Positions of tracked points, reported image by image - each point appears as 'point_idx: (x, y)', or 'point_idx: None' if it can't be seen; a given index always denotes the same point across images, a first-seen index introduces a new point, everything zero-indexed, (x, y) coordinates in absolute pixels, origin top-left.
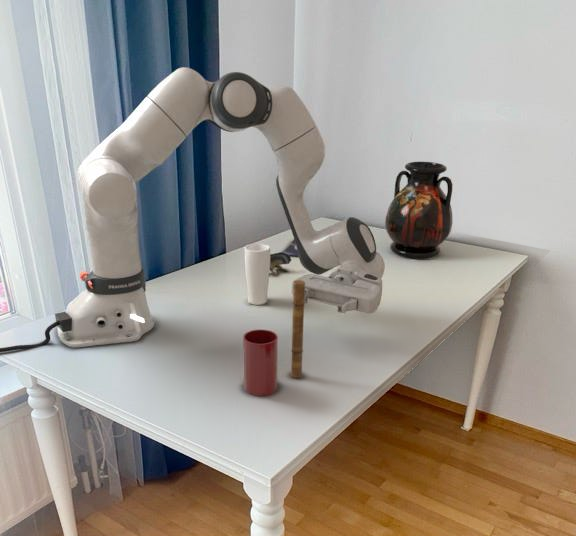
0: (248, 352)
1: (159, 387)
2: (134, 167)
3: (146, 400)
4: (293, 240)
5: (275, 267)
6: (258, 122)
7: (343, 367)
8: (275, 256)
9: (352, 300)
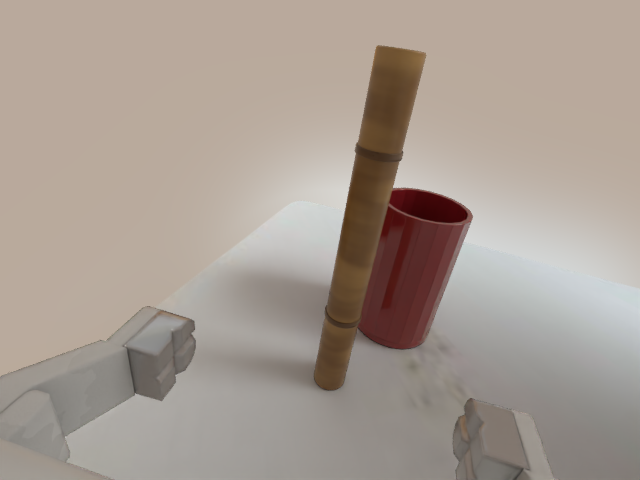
0: (426, 216)
1: (555, 302)
2: None
3: (532, 275)
4: None
5: None
6: None
7: (167, 466)
8: None
9: (23, 391)
